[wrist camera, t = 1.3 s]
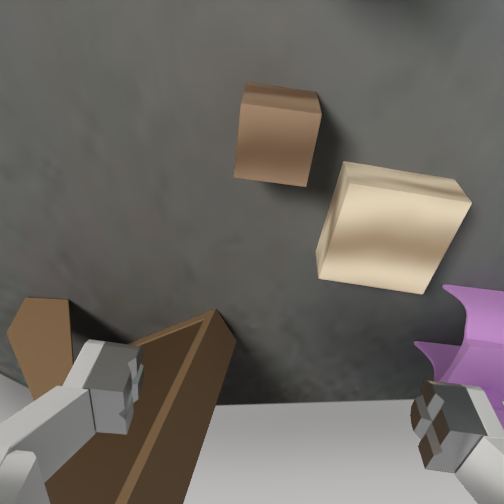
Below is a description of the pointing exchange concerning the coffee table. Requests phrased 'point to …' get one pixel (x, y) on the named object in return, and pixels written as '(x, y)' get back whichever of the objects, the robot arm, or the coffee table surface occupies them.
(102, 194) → the coffee table surface
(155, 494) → the photo frame
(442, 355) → the toy chair
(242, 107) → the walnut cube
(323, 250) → the beech block
